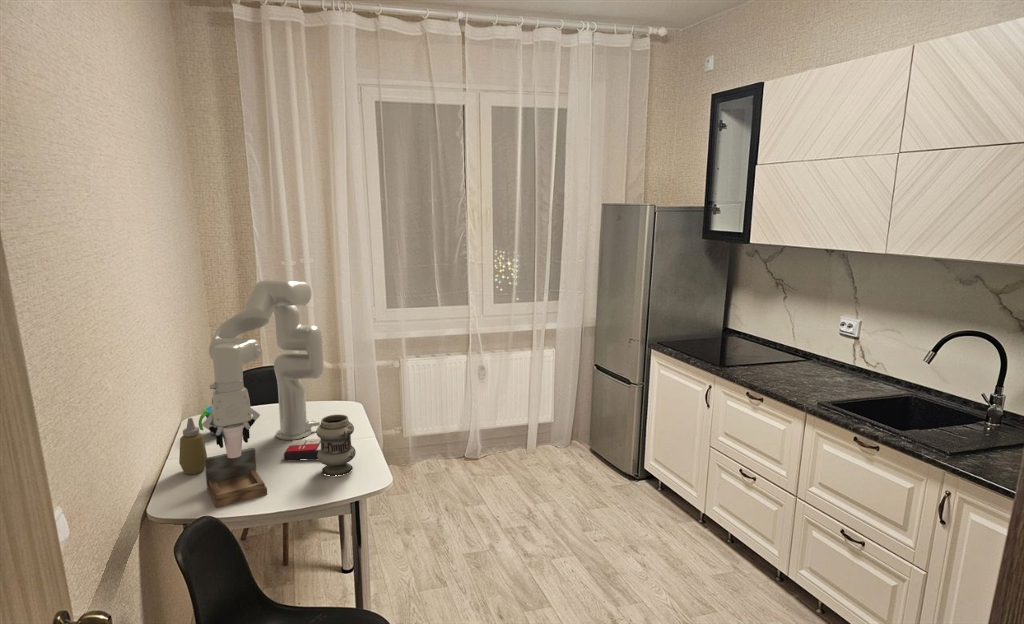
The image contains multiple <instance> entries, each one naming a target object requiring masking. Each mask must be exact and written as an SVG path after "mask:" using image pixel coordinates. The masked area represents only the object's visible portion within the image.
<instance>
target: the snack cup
mask: <svg viewBox="0 0 1024 624" xmlns="http://www.w3.org/2000/svg"><path fill="white" fill-rule="evenodd" d="M211 413H212V404H210V405H209V406H207V407H205V408H204V409H203V412H202V413H201V414H200V416H199V419H198V428H199V430H201V431H204V426H203V425H202V423H203V419H204V418H206V419H207V418H208V417H209V416H210V415H211ZM210 425H211V426H213V427H216V426H215V425H214V422H213V421H211V423H210ZM209 432H210V434H211V436H215V437H216V434H214V433H213V432H211V431H210V430H209ZM221 434H222V435H223V433H222V431H221Z"/></svg>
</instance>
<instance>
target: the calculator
mask: <svg viewBox="0 0 1024 624" xmlns="http://www.w3.org/2000/svg"><path fill="white" fill-rule="evenodd" d="M320 450H321V439H320V438H309V439H295V440H291V443H290V444H289V446H288V447H287V448H286V450H285V451H284V453H283V456H284V457H283V458H284V461H285V460H296V461H301V460H300V459H314V460H316V459H318V458H317V455H318V452H319V451H320Z"/></svg>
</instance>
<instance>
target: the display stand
mask: <svg viewBox="0 0 1024 624" xmlns="http://www.w3.org/2000/svg"><path fill="white" fill-rule="evenodd" d="M256 461H257V460H256V449H255V448H254V447H250V448H246V449H242V450H241V456H239V457H237V458H228V457H227V453H222V454H219V455H218V454H217V455H213V456H209V457H208V456H207V458H205V469H204V471H205V482H206V490H207V492H208V493H209V496H210V499H211V500H212V502H213V505H214V506H215V508H221V507H224V506H228V505H231V504H235V503H236V504H237V503H239V502H243V501H246V500H250V499H254V498H258V497H262V496H266V495H268V488H267V486H266V484H265V482H264V480H263V479H262V477H261V476H260V475H259V474H258V472H257V462H256Z"/></svg>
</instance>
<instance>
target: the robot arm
mask: <svg viewBox="0 0 1024 624" xmlns="http://www.w3.org/2000/svg"><path fill="white" fill-rule="evenodd" d="M311 298H312V288H311V286H310V285H309V283H308V282H305V281H294V280H277V279H276V280H275V279H274V280H273V279H272V280H271V279H269V280H260V281H258V282H257V283H256V284H255V285H254V286H253V288H252V291H251V292H250V294H249V297H248V299H247V301H246V302H245V304H244V307H243V309H242V310H241V311H240V312H238V313H236V314H235V315H232V316H231V317H230V318H228V319H227V320H225V321H224V322H223V323H221V324H220V326H218V327H217V330H216V331H215V333H214V334H213V337H212V338H211V341H210V344H209V348H208V355H209V357H210V359H211V360H212V361H213V362H212V363H213V375H214V377H213V378H214V381H213V383H212V384H209V386H208V387H209V390H214V391H213V392H212V397H211V405H212V413H211V415H210V416H209V417H208V418H207V417H206V418H205V420H204V421H202V426H203V428H204V429H207V430H208V431H209V432H210V431H211V432H213V433H214V434H216V436H215V441H216V445H217V446H219V448H220V449H223V448H224V438H223V435H222V434H221V431H222V428H223V426H229V425H234V424H240V423H243V424H244V428H243V437H242V441H243V443H246V444H247V443H248V444H249V439H250V438H251V437H250V435H251V434H250V429H251V427H252V426H253V425H254V424H255V422H256V421H257V420H258V419H259V418H260V417H261V414H260V413H259V412H258V411H257V410H255V409H253V408H252V407H251V402H250V401H251V400H250V396H249V395H250V394H249V391H248V388H246V387H245V385H244V384H245V383H244V372H243V365H247V364H251V363H254V362H255V361H257V360H258V359H259V357H260V356H261V353H262V346H261V344H260V342H259V341H258V340H257V339H254V338H247V337H246V338H245V337H243V338H241V337H239V336H240V335H243V334H245V333H248V332H252V331H255V330H257V329H258V330H259V329H261V328H264V327H265V326H266V325H268V324H269V322H270V320H271V317H272V315H274V321H275V323H274V324H275V336H276V343H277V346H278V349H280V350H283V351H303V352H305V351H306V353H300V352H286V353H281V354H279V355H277V356H276V358H274V361H273V369H274V374H275V377H276V381H277V382H276V384H277V393H278V410H279V412H278V413H279V428H280V429H278V430H277V431H276V432H275V433H276V436H275V437H276V438H278V439H280V440H283V441H293V440H301V439H304V438H306V437H308V436H310V435H311V433H312V427H318V426H319V425H321V421H320V420H314V419H312V420H308V419H307V403H306V401H307V400H306V387H305V385H304V384H303V382H302V380H314V379H315V380H316V379H319V378H320V377H322V375H323V372H324V353H323V352H324V350H323V349H324V346H323V336H322V332H321V329H320V328H319V327H318V326H316V325H313V324H310V325H309V324H301V318H300V311H299V308H298V307H300V306H301V307H302V306H307V304H309V303H310V301H311V300H312V299H311ZM211 421H213V422H214V425H215V426H216V427H213V426H211V425H210V423H211ZM211 432H210V433H211ZM303 437H304V438H303Z"/></svg>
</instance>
